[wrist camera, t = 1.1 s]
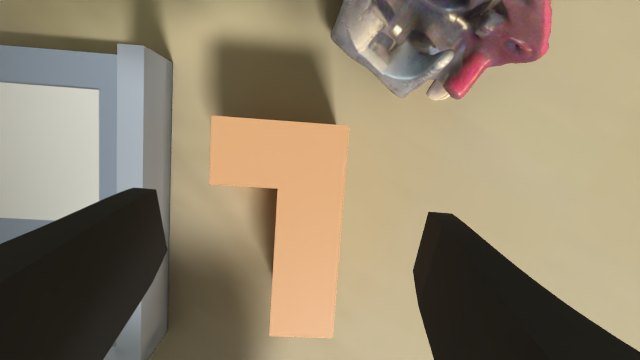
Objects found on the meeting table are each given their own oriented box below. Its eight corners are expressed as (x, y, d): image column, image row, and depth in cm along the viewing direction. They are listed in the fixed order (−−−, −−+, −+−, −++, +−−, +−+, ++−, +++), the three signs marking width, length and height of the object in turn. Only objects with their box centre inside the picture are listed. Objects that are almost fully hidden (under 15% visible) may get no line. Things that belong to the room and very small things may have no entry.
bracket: (325, 291, 21) (332, 338, 16) (227, 287, 21) (204, 333, 16) (337, 129, 20) (349, 125, 15) (233, 121, 20) (211, 115, 15)
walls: (167, 331, 21) (140, 370, 17) (-113, 321, 20) (-201, 360, 16) (172, 62, 19) (144, 45, 16) (-135, 37, 18) (-238, 13, 15)
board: (167, 331, 21) (159, 342, 20) (-113, 321, 20) (-137, 332, 19) (172, 62, 19) (165, 58, 18) (-135, 37, 18) (-163, 30, 17)
